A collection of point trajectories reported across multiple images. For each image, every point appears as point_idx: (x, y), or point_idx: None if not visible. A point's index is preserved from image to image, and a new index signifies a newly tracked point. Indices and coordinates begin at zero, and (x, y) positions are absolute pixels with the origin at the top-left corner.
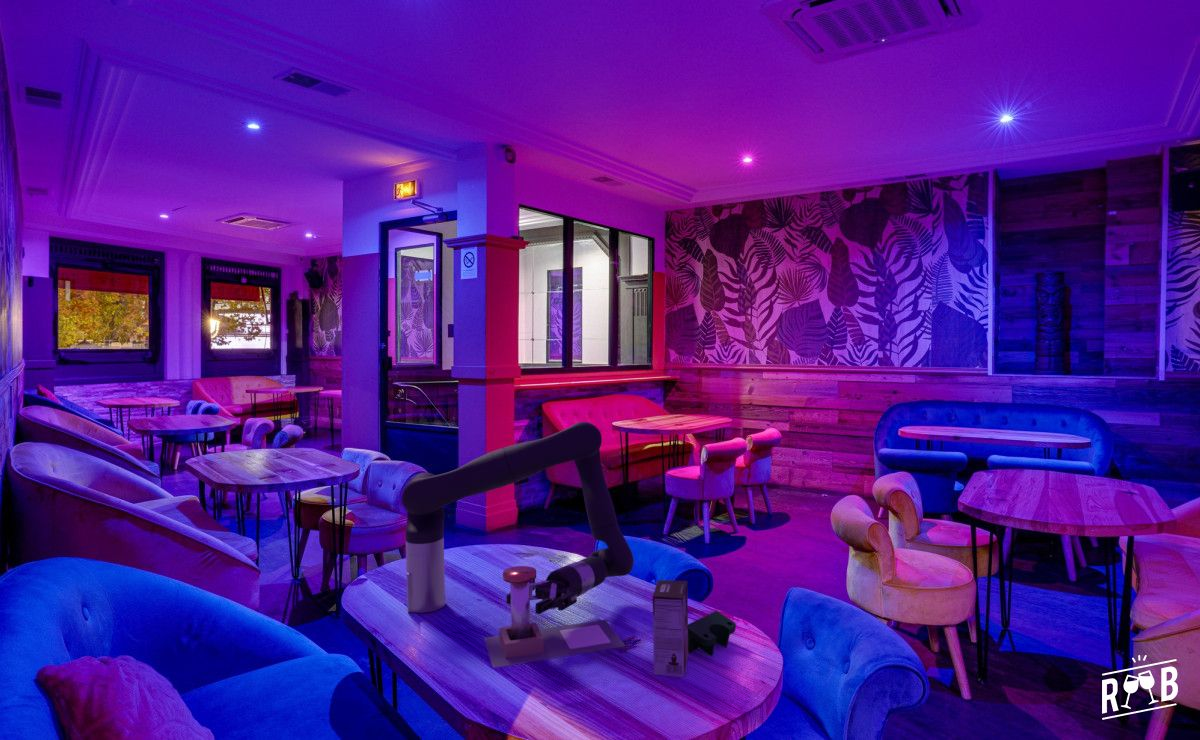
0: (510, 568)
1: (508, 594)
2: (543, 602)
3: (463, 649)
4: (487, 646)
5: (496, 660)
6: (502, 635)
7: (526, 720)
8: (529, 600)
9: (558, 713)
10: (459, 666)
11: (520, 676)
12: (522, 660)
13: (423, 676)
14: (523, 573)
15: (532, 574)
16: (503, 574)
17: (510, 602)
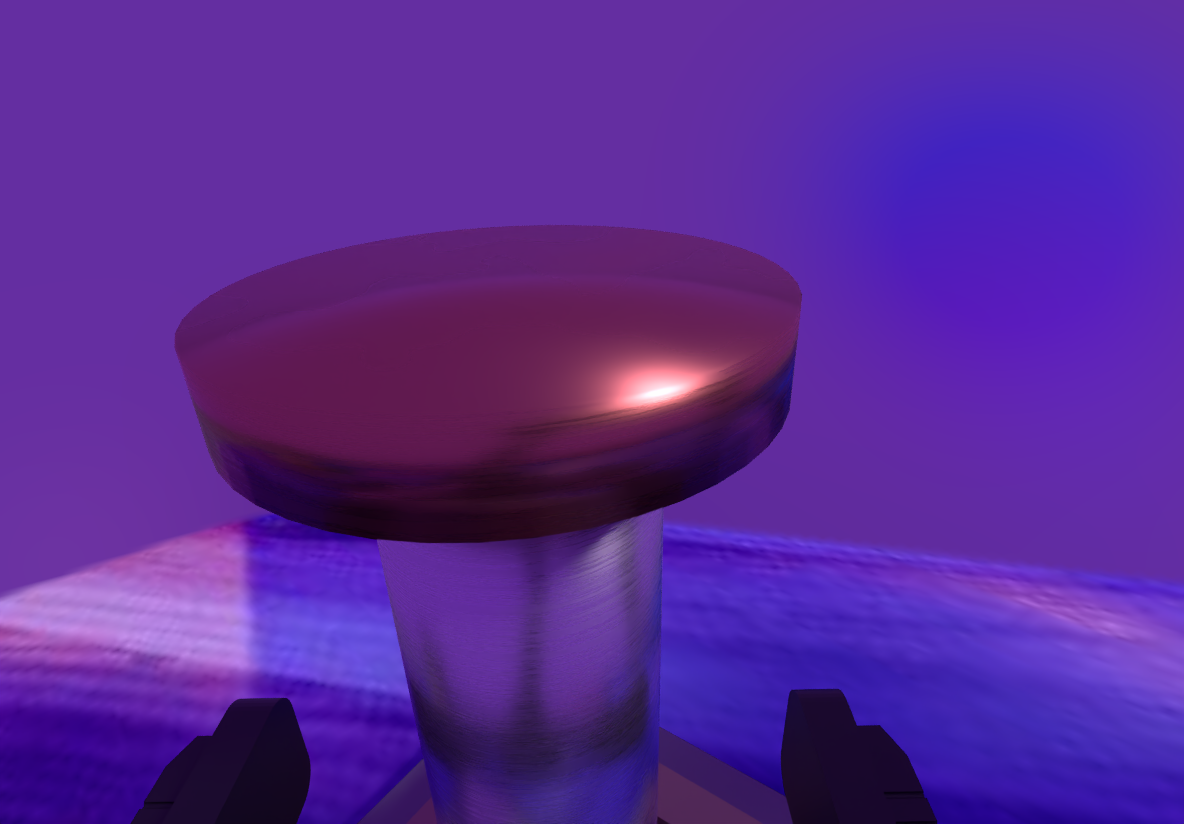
0: (755, 284)
1: (820, 692)
2: (185, 804)
3: (950, 778)
4: (786, 804)
5: None
6: (659, 766)
7: (198, 565)
8: (412, 705)
9: (58, 646)
10: (751, 649)
11: (381, 759)
12: (416, 806)
13: (779, 537)
14: (389, 279)
15: (212, 302)
16: (632, 232)
17: (787, 779)
